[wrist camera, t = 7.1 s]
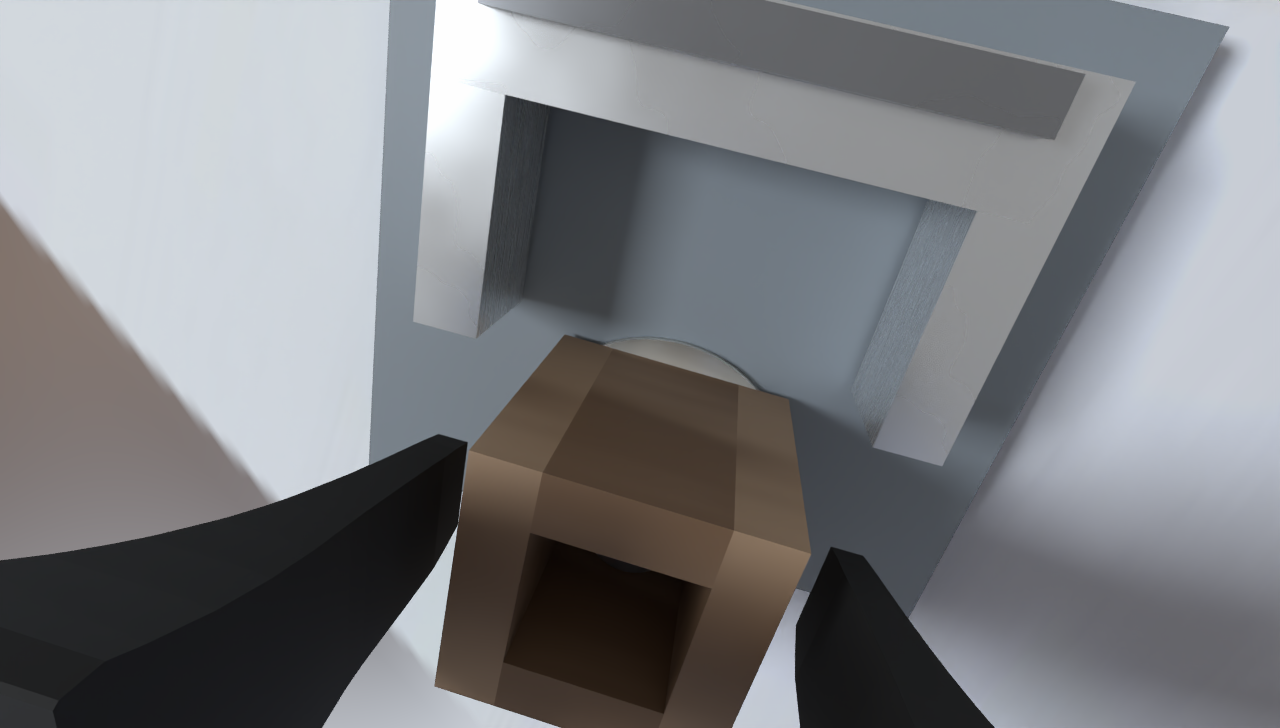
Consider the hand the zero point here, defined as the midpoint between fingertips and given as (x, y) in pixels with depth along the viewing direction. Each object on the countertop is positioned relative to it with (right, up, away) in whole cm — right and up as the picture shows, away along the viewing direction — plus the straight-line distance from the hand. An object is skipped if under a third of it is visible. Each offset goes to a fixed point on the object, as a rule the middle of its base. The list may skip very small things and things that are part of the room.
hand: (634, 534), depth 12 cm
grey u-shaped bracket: (+2, +6, 0) cm, 7 cm away
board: (+1, +5, +2) cm, 5 cm away
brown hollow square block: (0, +1, +2) cm, 3 cm away
